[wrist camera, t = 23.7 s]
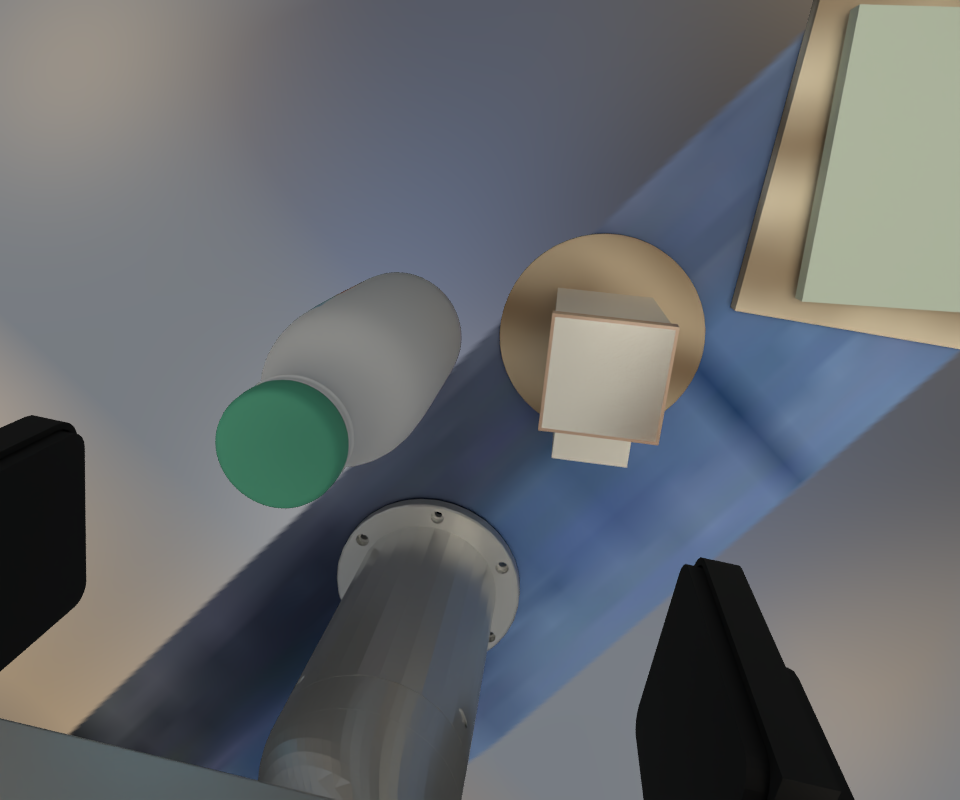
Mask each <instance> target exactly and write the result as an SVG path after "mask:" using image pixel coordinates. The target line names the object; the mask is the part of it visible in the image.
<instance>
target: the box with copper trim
mask: <svg viewBox="0 0 960 800" xmlns="http://www.w3.org/2000/svg"><path fill="white" fill-rule="evenodd" d="M679 329H680V327H679V326H678V324H671V323H670V321H669V320H668V318H667V317H666V315H665V314H664V313H663V311H662V310H661V308H660V307H659V306H658V304H657V303H656V301H655V300H654V298H650V297H641V296H632V295H622V294H613V293H604V292H594V291H585V290H576V289H566V288H558V291H557V299H556V307H555V311H553V313H552V321H551V329H550V337H549V345H548V353H547V362H546V370H545V378H544V386H543V394H542V402H541V411H540V419H539V427H538V430H540V431H548V432H553V442H552V458H556V459H564V460H572V461H580V462H587V463H595V464H603V465H611V466H619V467H626V468H627V463H628V457H629V451H630V445H631V442H636V443H644V444H652V445H658V444H659V439H660V433H661V428H662V422H663V417H664V411H665V406H666V400H667V395H668V389H669V384H670V378H671V373H672V367H673V362H674V356H675V351H676V345H677V340H678V334H679Z"/></svg>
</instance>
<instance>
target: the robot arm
mask: <svg viewBox="0 0 960 800" xmlns="http://www.w3.org/2000/svg"><path fill="white" fill-rule="evenodd" d="M84 447H85V446H84V441H83V438H82V437H81V436H80V435H79V434H77V433H76V430H75V428H74V427H73V426H72V425H71V424H70V423H66V422H62V421H56V420H52V419H48V418H43V417H38V416H33V415H31V416H27V417H24V418H22V419H20V420H17V421H15V422H13V423H10V424H8V425H6V426H4V427H1V428H0V671H1V670H2V669H4V667H6V666H7V665H8V664H9V663H10V662H12V661H13V660H14V659H15V658H16V657H17V656H19V655H20V654H21V653H22V652H23V651H24V650H26V648H28V647H29V646H30V645H31V644H32V643H33V642H35V641H36V640H37V639H38V638H39V637H40V636H42V635H43V634H44V633H45V632H46V631H47V630H48V629H50V628H51V627H52V626H53V625H54V624H55V623H56V622H58V621H59V620H60V619H61V618H62V617H64V616H65V615H66V614H67V613H68V612H69V611H70V610H71V609H72V608H74V607H75V606H76V604H78V602H79V601H80V599H81V597H82V595H83V593H84V590H85V586H86V529H85V528H86V526H85V448H84ZM436 512H440V513H442V514H437V513H436ZM364 535H366V536H364ZM500 562H504V563H505V564H502V563H500ZM337 583H338V592H339V596H340V599H341V602H340V604H339V606H338V607H337V609H336V611H335V613H334V615H333V617H332V619H331V620H330V622H329V624H328V626H327V628H326V630H325V632H324V633H323V635H322V637H321V639H320V641H319V643H318V645H317V646H316V648H315V650H314V652H313V654H312V656H311V658H310V659H309V661H308V663H307V665H306V667H305V669H304V671H303V672H302V674H301V676H300V678H299V680H298V682H297V683H296V685H295V687H294V689H293V691H292V693H291V695H290V697H289V699H288V700H287V702H286V704H285V706H284V708H283V710H282V712H281V713H280V715H279V717H278V719H277V721H276V723H275V725H274V726H273V728H272V730H271V733H270V735H269V737H268V740H267V742H266V745H265V747H264V751H263V755H262V759H261V762H260V768H259V777H258V780H254V779H250V778H246V777H242V776H238V775H233V774H229V773H225V772H221V771H217V770H213V769H209V768H204V767H200V766H196V765H192V764H188V763H184V762H180V761H176V760H171V759H167V758H163V757H159V756H155V755H151V754H147V753H143V752H138V751H134V750H130V749H126V748H122V747H118V746H113V745H109V744H105V743H101V742H97V741H93V740H88V739H84V738H80V737H76V736H72V735H68V734H64V733H59V732H55V731H51V730H47V729H42V728H38V727H34V726H30V725H26V724H22V723H17V722H14V721H9V720H5V719H1V718H0V800H461V799H462V793H463V787H464V781H465V776H466V771H467V765H468V759H469V753H470V747H471V741H472V736H473V730H474V724H475V718H476V712H477V706H478V701H479V695H480V689H481V683H482V677H483V671H484V666H485V660H486V654H487V651H488V650H490V649H491V648H492V647H494V646H495V645H496V644H497V643H498V642H499V641H500V640H501V639H502V638H503V637H504V636H505V634H506V633H507V631H508V629H509V628H510V626H511V624H512V623H513V621H514V618H515V614H516V611H517V608H518V602H519V595H520V580H519V573H518V569H517V565H516V561H515V559H514V557H513V555H512V553H511V551H510V549H509V547H508V545H507V544H506V542H505V541H504V540H503V538H502V537H501V536H500V534H499V533H498V532H497V531H496V530H495V529H494V528H493V527H492V526H491V525H489V524H488V523H487V522H486V521H485V520H483V519H482V518H480V517H479V516H477V515H476V514H474V513H473V512H471V511H469V510H467V509H464V508H462V507H460V506H457V505H455V504H451V503H447V502H443V501H439V500H429V499H413V500H405V501H400V502H396V503H393V504H390V505H387V506H384V507H383V508H381V509H379V510H377V511H375V512H373V513H372V514H370V515H369V516H368V517H367V518H366V519H364V520H363V521H362V522H361V523H360V524H359V525H358V526H357V527H356V529H355V530H354V531H353V533H352V534H351V535H350V537H349V539H348V541H347V542H346V544H345V546H344V548H343V550H342V553H341V556H340V559H339V562H338V571H337ZM636 740H637V749H638V757H639V766H640V774H641V782H642V790H643V798H644V800H854V797H853V795H852V793H851V791H850V789H849V787H848V785H847V782H846V780H845V778H844V776H843V774H842V771H841V769H840V767H839V765H838V763H837V761H836V759H835V756H834V754H833V752H832V750H831V748H830V745H829V743H828V741H827V739H826V737H825V735H824V732H823V730H822V728H821V726H820V724H819V722H818V719H817V717H816V715H815V713H814V711H813V709H812V706H811V704H810V702H809V700H808V698H807V696H806V693H805V691H804V689H803V687H802V685H801V683H800V680H799V678H798V677H797V676H796V674H795V672H794V671H792V670H791V669H789V668H786V667H785V664H784V662H783V660H782V658H781V655H780V653H779V651H778V649H777V647H776V644H775V642H774V640H773V637H772V635H771V633H770V631H769V628H768V626H767V624H766V622H765V620H764V617H763V615H762V613H761V611H760V608H759V606H758V604H757V602H756V599H755V597H754V595H753V593H752V590H751V588H750V586H749V584H748V581H747V579H746V577H745V575H744V572H743V570H742V568H741V567H740V566H738V565H733V564H729V563H724V562H720V561H715V560H710V559H706V558H701V557H700V558H699V559H698V560H697V562H696V563H695V565H694V566H692V565H687V564H685V565H683V567H682V568H681V571H680V573H679V577H678V580H677V583H676V586H675V590H674V593H673V596H672V599H671V603H670V606H669V609H668V613H667V616H666V619H665V623H664V626H663V629H662V632H661V636H660V639H659V642H658V646H657V649H656V652H655V655H654V659H653V662H652V665H651V669H650V671H649V675H648V678H647V681H646V685H645V688H644V691H643V695H642V698H641V701H640V704H639V708H638V712H637V718H636Z"/></svg>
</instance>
